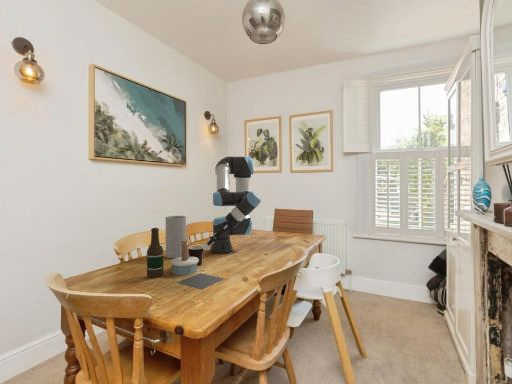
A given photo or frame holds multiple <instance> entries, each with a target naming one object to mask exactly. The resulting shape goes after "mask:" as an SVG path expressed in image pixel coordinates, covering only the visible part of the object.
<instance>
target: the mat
mask: <svg viewBox="0 0 512 384" xmlns="http://www.w3.org/2000/svg"><path fill="white" fill-rule="evenodd" d="M224 280H225V278H223V277H219V276H215V275H211V274H207V273H202V272H200V273H197V274H194V275H192V276H189V277H186V278H183V279H181V280H180V281H176V282H175V283H177V284H180V285H184V286H186V287H187V286H188V287H190V288H195V289H197V290H201V291H203V290H205V289H206V288H208V287H211V286H213V285H215V284H217V283H219V282H221V281H224Z"/></svg>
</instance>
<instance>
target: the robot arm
mask: <svg viewBox="0 0 512 384" xmlns="http://www.w3.org/2000/svg"><path fill="white" fill-rule="evenodd" d="M214 170H215V172H214V173H215V175H216V191H214V192H213V193H212V205H213V206H215V207H234V208H232V209H231V212H228V213H227V215H224V216H219V217H215V218H214V219H213V221H212V235H210V236H209V239H208V240H206V242H205V243H204V244H203V245H201V246H202V248H203V251H205V252H206V251H207V250H208V249H209V248H210V252H211V253H214V254H226V253H230V252H232V251H233V245H232V242H231V236H248V235H250V234H251V232H252V229H253V219H252V217H251V215H250V214H251V213H252V212H253V211H254V210H255V209H256V208H257V207H258V206H259V205H260V204H261V202H262V200H261V198H260V197H259V196H258V195H257V194H256V193H255V192H254V191H249V188H250V187H249V182H250V181H249V179H251V178H252V175H254V163H253V159H252V158H251V157H250V156H226V157H223V158H222V159H220V160H219V161H217V163H216V165H215V168H214ZM230 175H233V178H234V179H235V191H231V187H230V182H231V181H230Z"/></svg>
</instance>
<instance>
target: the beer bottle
mask: <svg viewBox="0 0 512 384" xmlns="http://www.w3.org/2000/svg"><path fill="white" fill-rule="evenodd" d="M150 231H151V235H150V237H151V238H150V245H149V246H148V248H147V250H146V277H147V278H148V279H151V280H152V279H158V278H162V277H163V276H164V273H165V272H164V270H165V269H164V264H165V263H164V248H163V246H162V245H161V243H160V235H159V231H160V229H159V228H158V227H153V228H151V229H150Z"/></svg>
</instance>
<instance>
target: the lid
mask: <svg viewBox="0 0 512 384" xmlns="http://www.w3.org/2000/svg"><path fill="white" fill-rule="evenodd" d="M181 246H182V257H178V258H171V260H170V264H171V266H172V265H174V266H190V265H194V264H197V263H198V262H199V259H198V258H197V257H191V256H189V252H188V247H189V240H186V241H181Z"/></svg>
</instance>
